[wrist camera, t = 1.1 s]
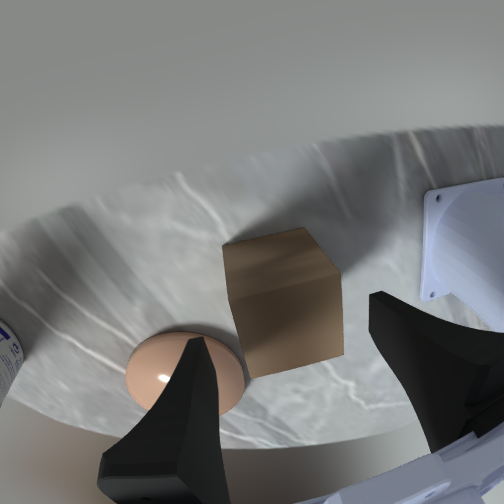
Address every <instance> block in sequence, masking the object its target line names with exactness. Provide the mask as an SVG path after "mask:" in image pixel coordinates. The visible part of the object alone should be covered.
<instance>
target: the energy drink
mask: <svg viewBox="0 0 504 504" xmlns="http://www.w3.org/2000/svg"><path fill="white" fill-rule="evenodd" d="M23 358H24V357H23V351H22V348H21V345H20V343H19V341H18V339H17V337H16V336H15V334H14V333H13V332H12V330H11V329H10V328H9V327H8V326H7V325H6V324H5V323H3V322H2V321H1V320H0V407H1V405H2V403H3V401H4V399H5V397H6V395H7V393H8V391H9V389H10V387H11V385H12V383H13V381H14V379H15V377H16V376H17V374H18V372H19V370H20V368H21V366H22V364H23Z"/></svg>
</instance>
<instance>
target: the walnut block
mask: <svg viewBox="0 0 504 504" xmlns="http://www.w3.org/2000/svg"><path fill="white" fill-rule="evenodd" d="M222 250H223V259H224V268H225V276H226V285H227V293H228V301H229V304H230V308H231V312H232V315H233V319H234V323H235V326H236V330H237V333H238V337H239V340H240V344H241V347H242V351H243V354H244V358H245V361H246V364H247V368H248V371H249V375H250V378H251V379H252V378H257V377H261V376H266V375H270V374H274V373H279V372H283V371H287V370H291V369H295V368H298V367H302V366H306V365H310V364H313V363H317V362H321V361H324V360H328V359H331V358H334V357H338V356H341V355H344V336H343V307H342V287H341V273H340V272H339V270H338V269H337V268H336V267H335V265H334V264H333V263H332V262H331V260H330V259H329V258H328V256H327V255H326V254H325V253H324V251H323V250H322V249H321V248H320V246H319V245H318V244H317V243H316V242H315V240H314V239H313V238H312V237H311V235H310V234H309V233H308V232H307V230H306V229H305V228H304V227H302V228H298V229H293V230H289V231H284V232H280V233H275V234H271V235H266V236H262V237H258V238H253V239H249V240H244V241H240V242H236V243H231V244H227V245H222Z"/></svg>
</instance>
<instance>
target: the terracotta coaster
mask: <svg viewBox="0 0 504 504" xmlns="http://www.w3.org/2000/svg"><path fill="white" fill-rule="evenodd" d="M201 336H203V337H204V340H205V343H206V345H207V348H208V351H209V353H210V356H211V359H212V362H213V364H214V367H215V369H216V375H217V382H218V390H219V416H220V415H222V414H224V413H226V412H228V411H229V410H231V409H232V408H233V407H234V406H235V405H236V404H237V403H238V402H239V400H240V399H241V397H242V395H243V392H244V388H245V381H244V375H243V369H242V365H241V363H240V361H239V359H238V357H237V356H236V355H235V353H234V352H233V351H232V350H231V349H230V348H228V347H227V346H226V345H224V344H223V343H221V342H219V341H218V340H216V339H213V338H211V337H208V336H205V335H202V334H198V333H192V332H169V333H163V334H159V335H156V336H153V337H151V338H149V339H147V340H145V341H143V342H142V343H141V344H139V345H138V346H137V347H136V348H135V349H134V351H133V352H132V354H131V356H130V358H129V362H128V366H127V370H126V377H125V380H126V385H127V388H128V390H129V392H130V394H131V395H132V397H133V398H134V399H135V400H136V401H137V402H138V404H140V405H141V406H142V407H143V408H145V409H146V410H148V411H149V410H150V409H151V407H152V406H153V405H154V403H155V402H156V400H157V399H158V397H159V396H160V394H161V393H162V391H163V390H164V388H165V386H166V384H167V383H168V381H169V379H170V377H171V376H172V374H173V372H174V370H175V368H176V366H177V364H178V362H179V359H180V357H181V355H182V353H183V350H184V348H185V346H186V343H187V341H188V340H189V339H191V338H196V337H201Z"/></svg>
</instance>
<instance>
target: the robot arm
mask: <svg viewBox="0 0 504 504" xmlns="http://www.w3.org/2000/svg"><path fill="white" fill-rule="evenodd" d="M437 195H438V196H439V197H438V199H437V200H436V197H437ZM431 293H432V294H431ZM449 293H453V294H454V295H455V296H456V297H458V298H459V299H460V300H461V301H462V302H463V303H464V304H465V305H466V306H468V307H469V308H470V309H471V310H472V311H473V312H474V313H475V314H476V315H477V316H478V317H480V318H481V319H482V320H483V321H484V322H485V323H486V324H487V325H488V326H489V327H490V328H491V329H492V330H493V331H494V332H492V331H484V330H478V329H474V328H469V327H465V326H461V325H458V324H454V323H451V322H448V321H445V320H443V319H440V318H437V317H435V316H433V315H430V314H428V313H426V312H423V311H421V310H419V309H417V308H415V307H413V306H411V305H409V304H407V303H405V302H403V301H401V300H399V299H397V298H395V297H394V296H392V295H390V294H388V293H385V292H383V291H379V292H376V293H372V294H369V333H370V335H371V337H372V339H373V341H374V343H375V345H376V347H377V349H378V350H379V352H380V353H381V355H382V356H383V358H384V359H385V361H386V362H387V364H388V365H389V367H390V368H391V369H392V371H393V372H394V374H395V375H396V377H397V378H398V380H399V381H400V383H401V384H402V386H403V388H404V389H405V391H406V393H407V395H408V397H409V399H410V401H411V403H412V405H413V408H414V410H415V412H416V414H417V417H418V419H419V421H420V423H421V426H422V429H423V431H424V434H425V436H426V439H427V442H428V445H429V448H430V451H431V454H427V455H425V456H422V457H419V458H417V459H415V460H413V461H410V462H408V463H406V464H404V465H402V466H399V467H397V468H395V469H392V470H390V471H387V472H385V473H382V474H380V475H377V476H375V477H372V478H369V479H366V480H364V481H361V482H358V483H355V484H353V485H350V486H348V487H346V488H343V489H340V490H338V491H337V492H335V493H333V494H329V495H326V496H322V497H319V498H315V499H311V500H307V501H303V502H299V503H295V504H485V503H484V501H483V499H482V498H481V496H483V495H484V494H486V493H487V492H488V491H490V490H491V489H492V488H494V487H495V486H496V485H498V484H499V483H500V482H502V481H503V480H504V177H501V178H495V179H489V180H484V181H478V182H472V183H467V184H461V185H456V186H450V187H445V188H440V189H434V190H429V191H427V192H426V194H425V196H424V232H423V256H422V272H421V284H420V295H419V298H420V300H421V301H422V302H428V301H431V300H433V299H436V298H439V297H441V296H444V295H447V294H449ZM97 485H98V488H99V489H100V490H101V491H102V492H103V493H104V494H105V495H107V496H108V497H109V498H110V499H111V500H113V501H114V502H116V503H117V504H231V502H230V497H229V492H228V488H227V482H226V477H225V471H224V465H223V459H222V453H221V445H220V435H219V390H218V382H217V375H216V369H215V367H214V364H213V362H212V359H211V356H210V353H209V351H208V348H207V345H206V343H205V340H204V337H203V336H201V337H196V338H191V339H189V340H188V341H187V343H186V346H185V348H184V350H183V353H182V355H181V357H180V359H179V362H178V364H177V366H176V368H175V370H174V372H173V374H172V376H171V377H170V379H169V381H168V383H167V384H166V386H165V388H164V390H163V391H162V393H161V394H160V396H159V397H158V399H157V400H156V402H155V403H154V405H153V406H152V407H151V409H150V410H149V411H148V412H147V414H146V415H145V416H144V417H143V418H142V419H141V420H140V422H139V423H138V424H137V425H136V426H135V427H134V428H133V429H132V430H131V431H130V432H129V433H128V434H127V435H125V436H124V437H123V438H122V439H121V440H120V441H119V442H117V443H116V444H115V445H113V446H112V447H111V448H110V449H108V450H107V451H106V452H104V453H103V455H102V458H101V462H100V467H99V473H98V480H97Z"/></svg>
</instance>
